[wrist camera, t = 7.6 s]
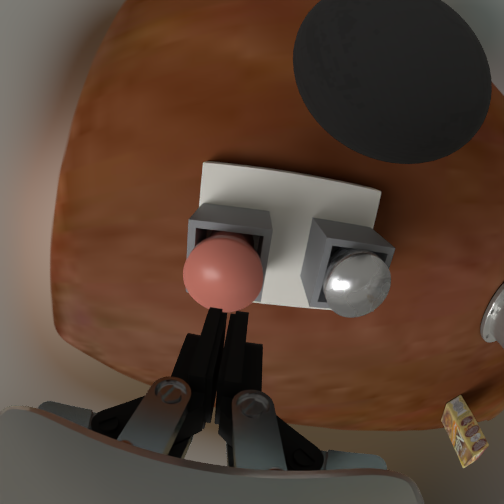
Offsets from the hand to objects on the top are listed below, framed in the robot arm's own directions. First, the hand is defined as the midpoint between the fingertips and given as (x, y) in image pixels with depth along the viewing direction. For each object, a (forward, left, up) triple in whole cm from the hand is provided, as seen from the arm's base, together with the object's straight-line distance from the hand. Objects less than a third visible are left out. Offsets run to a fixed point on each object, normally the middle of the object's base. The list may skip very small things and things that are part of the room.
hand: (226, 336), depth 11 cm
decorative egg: (-8, -15, -15) cm, 22 cm away
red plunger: (+1, 0, -11) cm, 11 cm away
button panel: (-4, 0, -14) cm, 15 cm away
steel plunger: (-8, 0, -12) cm, 14 cm away
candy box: (-48, +32, -15) cm, 60 cm away
